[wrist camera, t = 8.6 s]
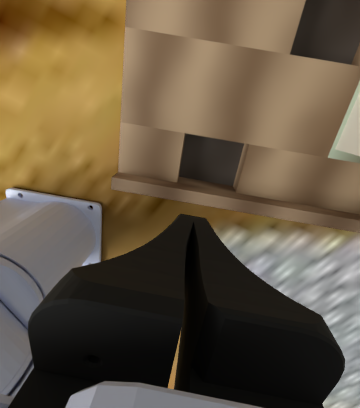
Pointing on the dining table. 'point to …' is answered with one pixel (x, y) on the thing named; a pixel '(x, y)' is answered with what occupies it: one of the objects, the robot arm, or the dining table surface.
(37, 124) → the dining table surface
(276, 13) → the tray
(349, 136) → the block
